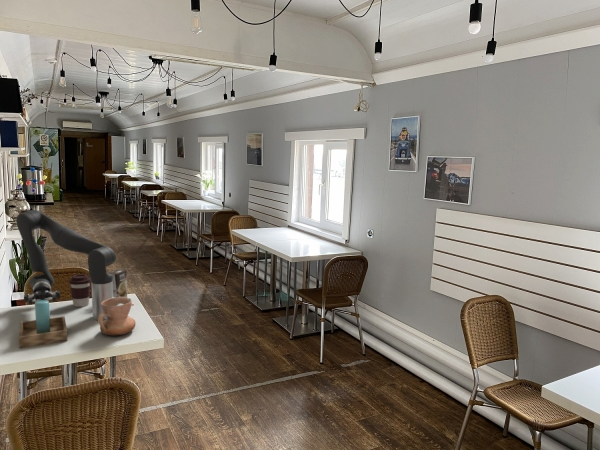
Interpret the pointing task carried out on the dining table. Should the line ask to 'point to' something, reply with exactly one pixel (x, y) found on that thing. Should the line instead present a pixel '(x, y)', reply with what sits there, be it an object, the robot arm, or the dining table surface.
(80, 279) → the coffee cup
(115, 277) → the coffee box
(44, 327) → the teal canister
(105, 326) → the ceramic jug
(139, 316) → the dining table surface
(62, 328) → the walnut crate
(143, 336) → the dining table surface
